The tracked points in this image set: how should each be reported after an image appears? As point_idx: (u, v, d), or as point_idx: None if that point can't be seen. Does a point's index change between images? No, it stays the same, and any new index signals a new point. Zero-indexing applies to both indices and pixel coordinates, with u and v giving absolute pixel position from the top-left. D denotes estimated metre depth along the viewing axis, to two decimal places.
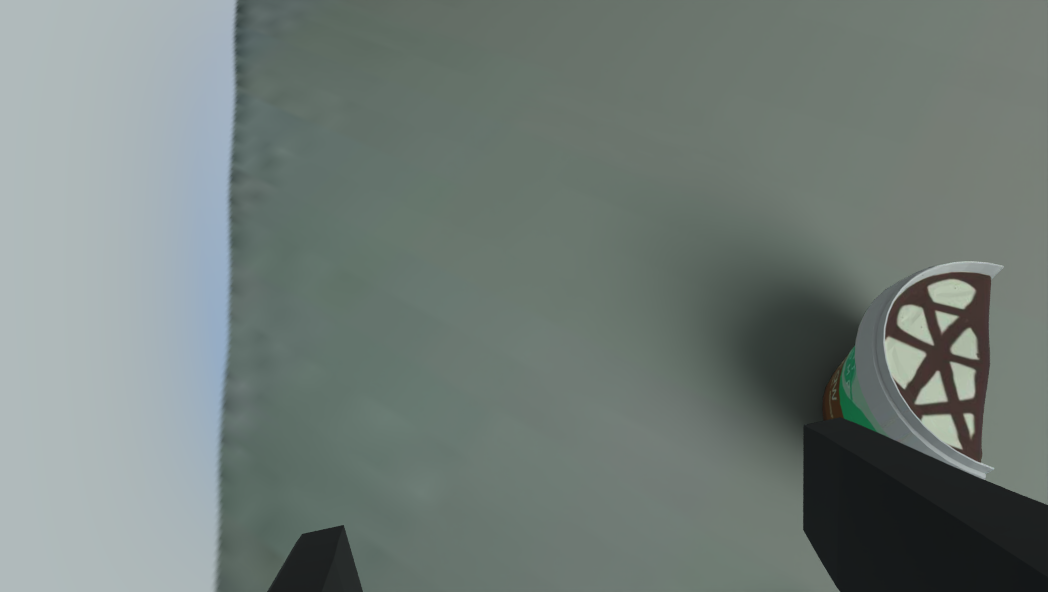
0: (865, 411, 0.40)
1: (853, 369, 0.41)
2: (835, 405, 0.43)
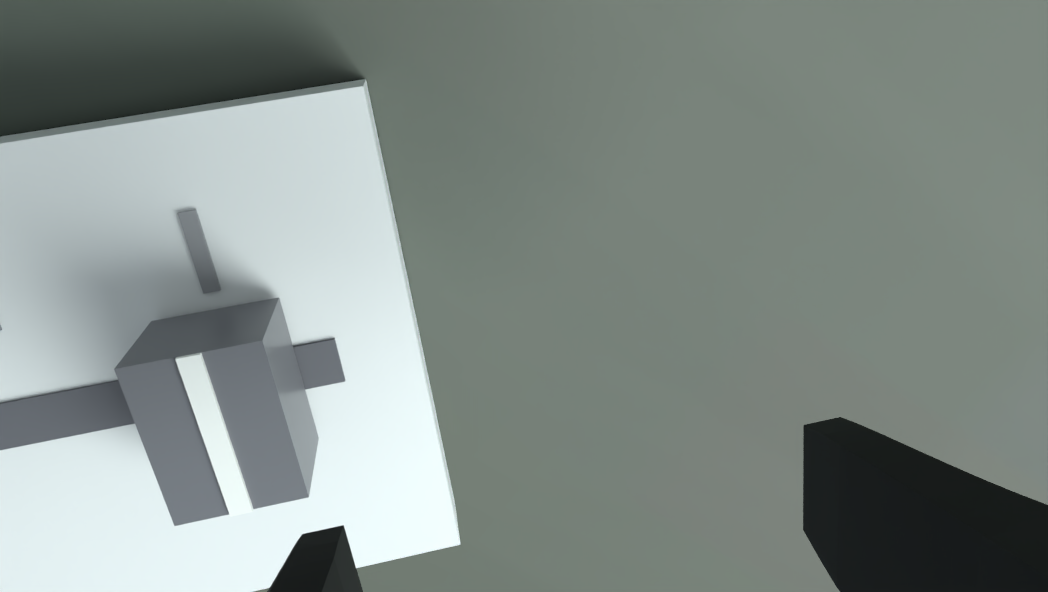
0: None
1: None
2: None
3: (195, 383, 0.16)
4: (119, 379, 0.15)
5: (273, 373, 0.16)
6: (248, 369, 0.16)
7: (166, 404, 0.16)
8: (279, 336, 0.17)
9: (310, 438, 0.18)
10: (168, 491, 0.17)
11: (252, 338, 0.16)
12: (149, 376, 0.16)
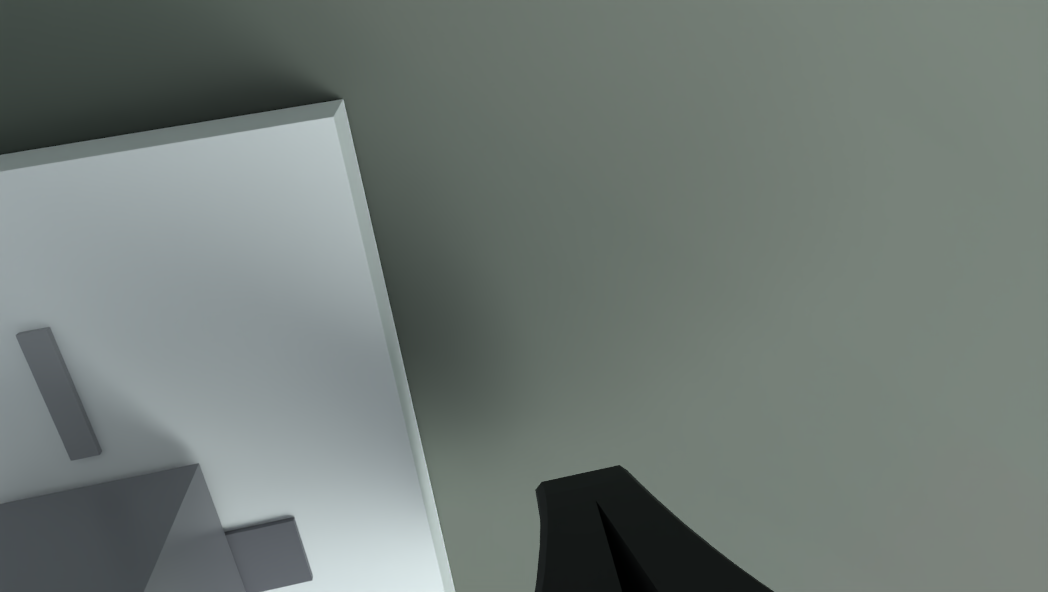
0: None
1: None
2: None
3: None
4: None
5: None
6: None
7: None
8: (193, 542, 0.10)
9: None
10: None
11: (128, 581, 0.09)
12: None
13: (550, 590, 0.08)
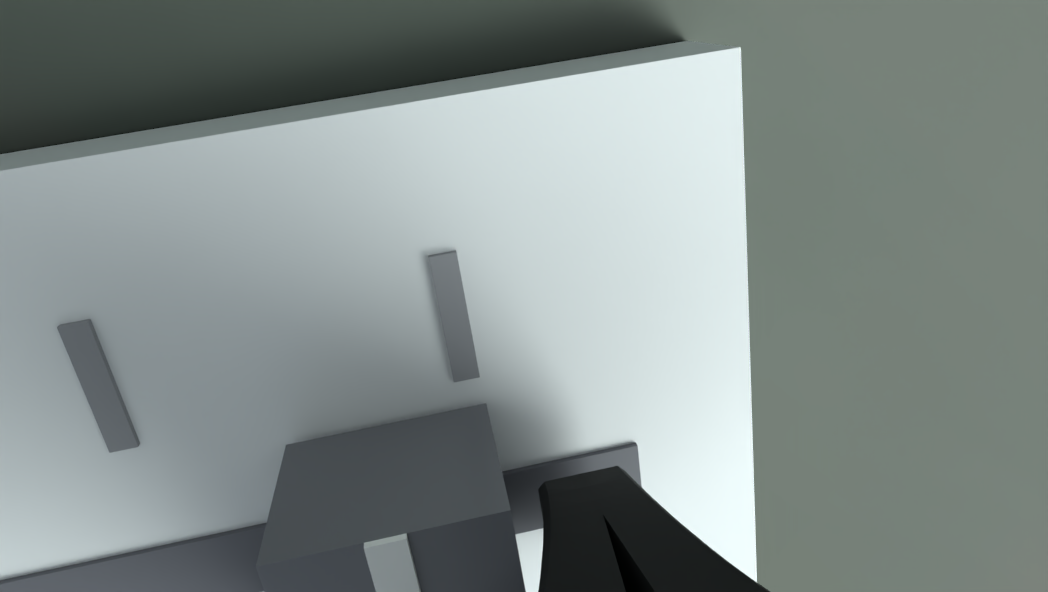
0: None
1: None
2: None
3: (393, 584, 0.09)
4: (264, 583, 0.09)
5: (519, 558, 0.09)
6: (482, 556, 0.09)
7: None
8: None
9: None
10: None
11: (488, 501, 0.09)
12: (315, 575, 0.09)
13: (554, 589, 0.08)
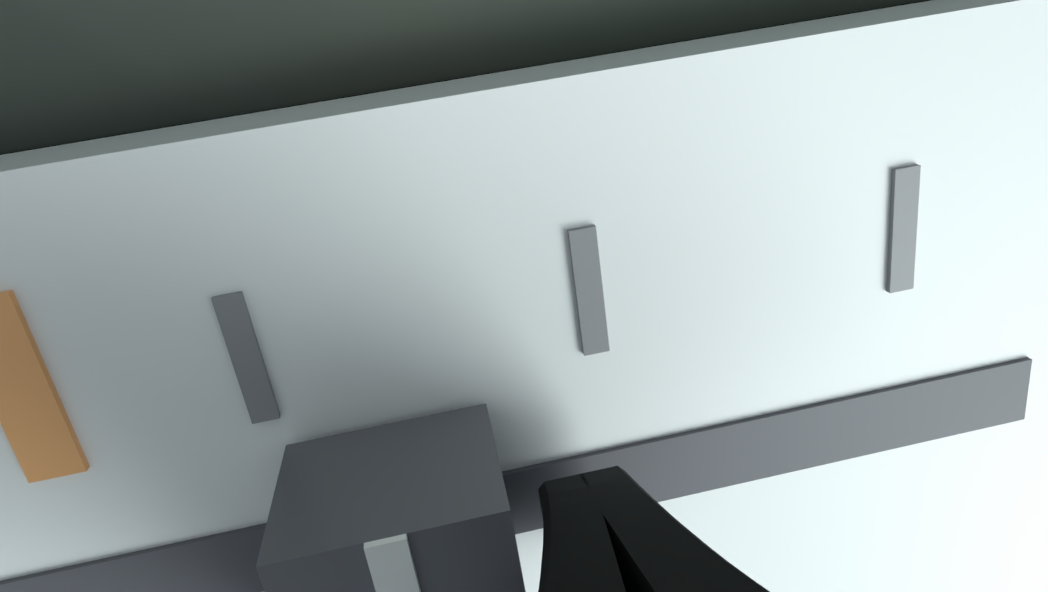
0: None
1: None
2: None
3: (393, 585, 0.09)
4: (264, 583, 0.09)
5: None
6: (482, 556, 0.09)
7: None
8: None
9: None
10: None
11: (488, 502, 0.09)
12: (315, 575, 0.09)
13: (553, 589, 0.08)
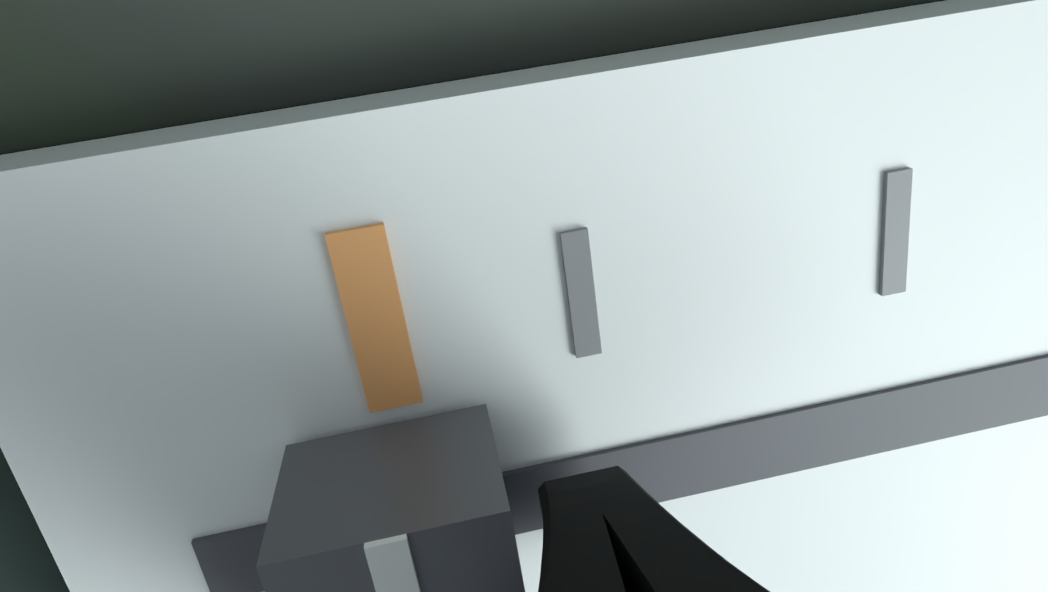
0: None
1: None
2: None
3: (393, 584, 0.09)
4: (264, 583, 0.09)
5: (518, 558, 0.09)
6: (482, 557, 0.09)
7: None
8: None
9: None
10: None
11: (488, 502, 0.09)
12: (315, 575, 0.09)
13: (553, 589, 0.08)
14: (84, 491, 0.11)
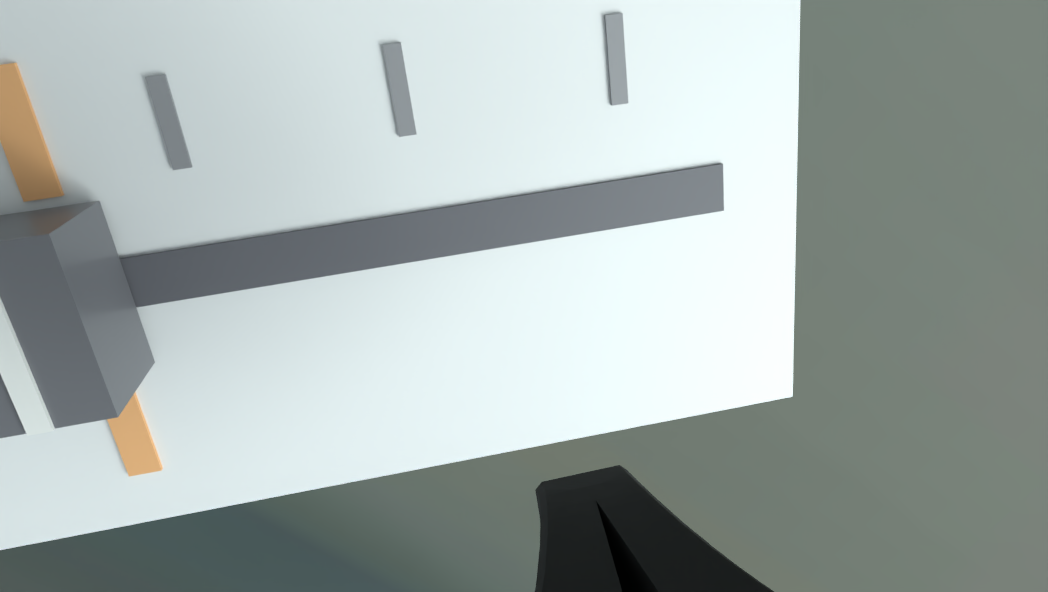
0: None
1: None
2: None
3: None
4: None
5: (67, 273, 0.14)
6: (35, 266, 0.14)
7: None
8: (90, 239, 0.16)
9: (136, 358, 0.17)
10: None
11: (41, 232, 0.14)
12: None
13: (550, 590, 0.08)
14: None
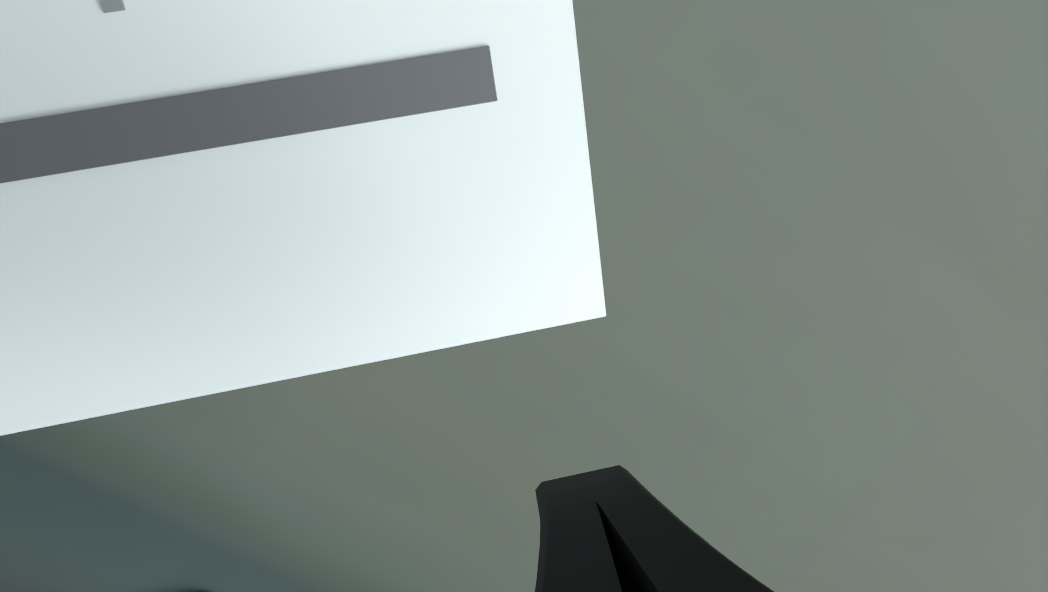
0: None
1: None
2: None
3: None
4: None
5: None
6: None
7: None
8: None
9: None
10: None
11: None
12: None
13: (550, 590, 0.08)
14: None
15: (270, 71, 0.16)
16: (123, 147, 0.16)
